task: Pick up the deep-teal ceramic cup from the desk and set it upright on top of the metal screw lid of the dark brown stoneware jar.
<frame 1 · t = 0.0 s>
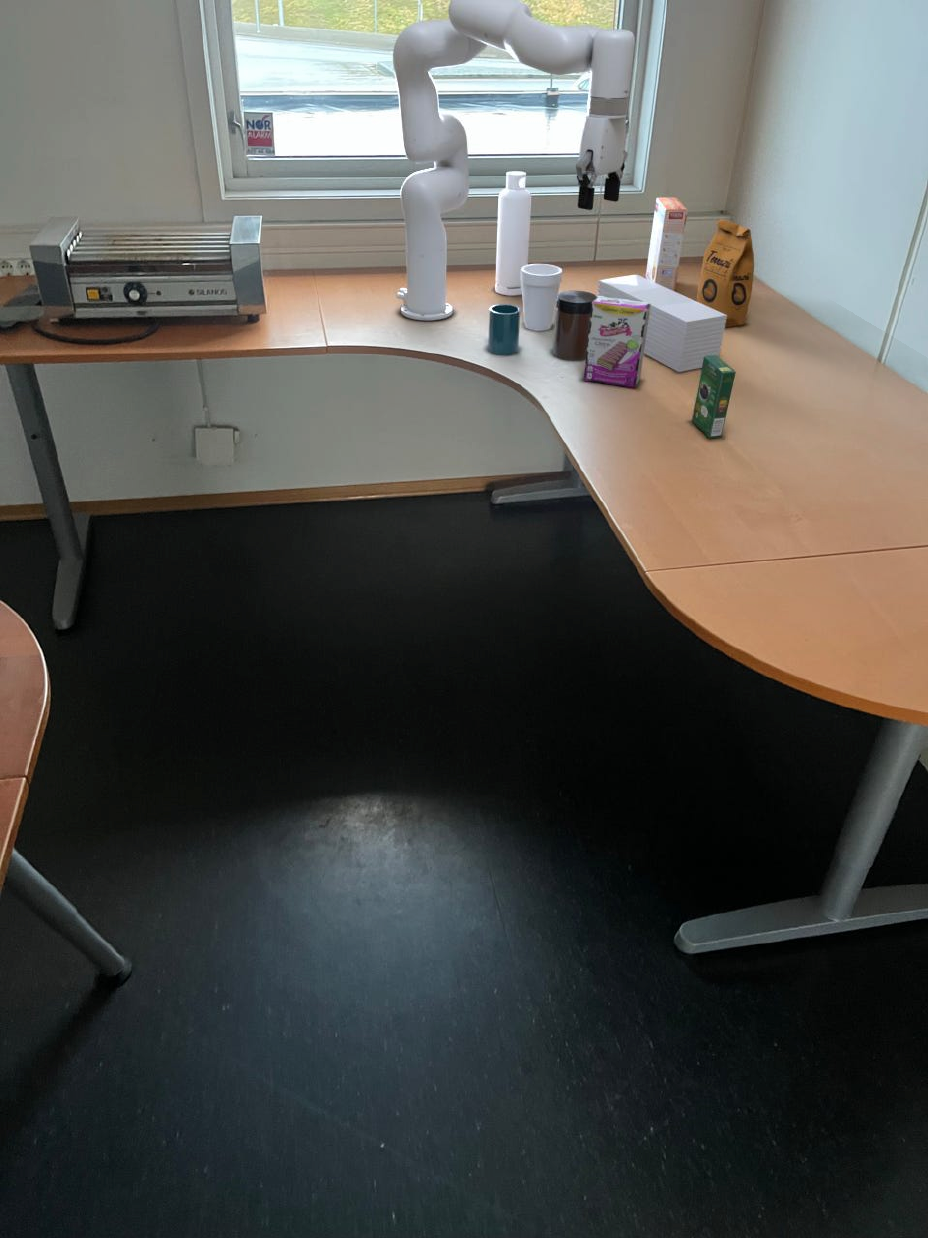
hand: (598, 204, 183), 31 cm above the table, tool pointing down, fingers open, 9 cm apart
jar: (571, 353, 203), on the table
bottle: (510, 291, 239), on the table
jar lid: (576, 299, 196), point 12 cm above the table, screwed on, not yet turned
candy bar box: (611, 382, 190), on the table
foam cup: (537, 326, 217), on the table
coffee box: (706, 431, 172), on the table
cup: (503, 349, 204), on the table
cracker box: (659, 287, 244), on the table
coffee package: (719, 320, 223), on the table
stack of papers: (653, 345, 208), on the table
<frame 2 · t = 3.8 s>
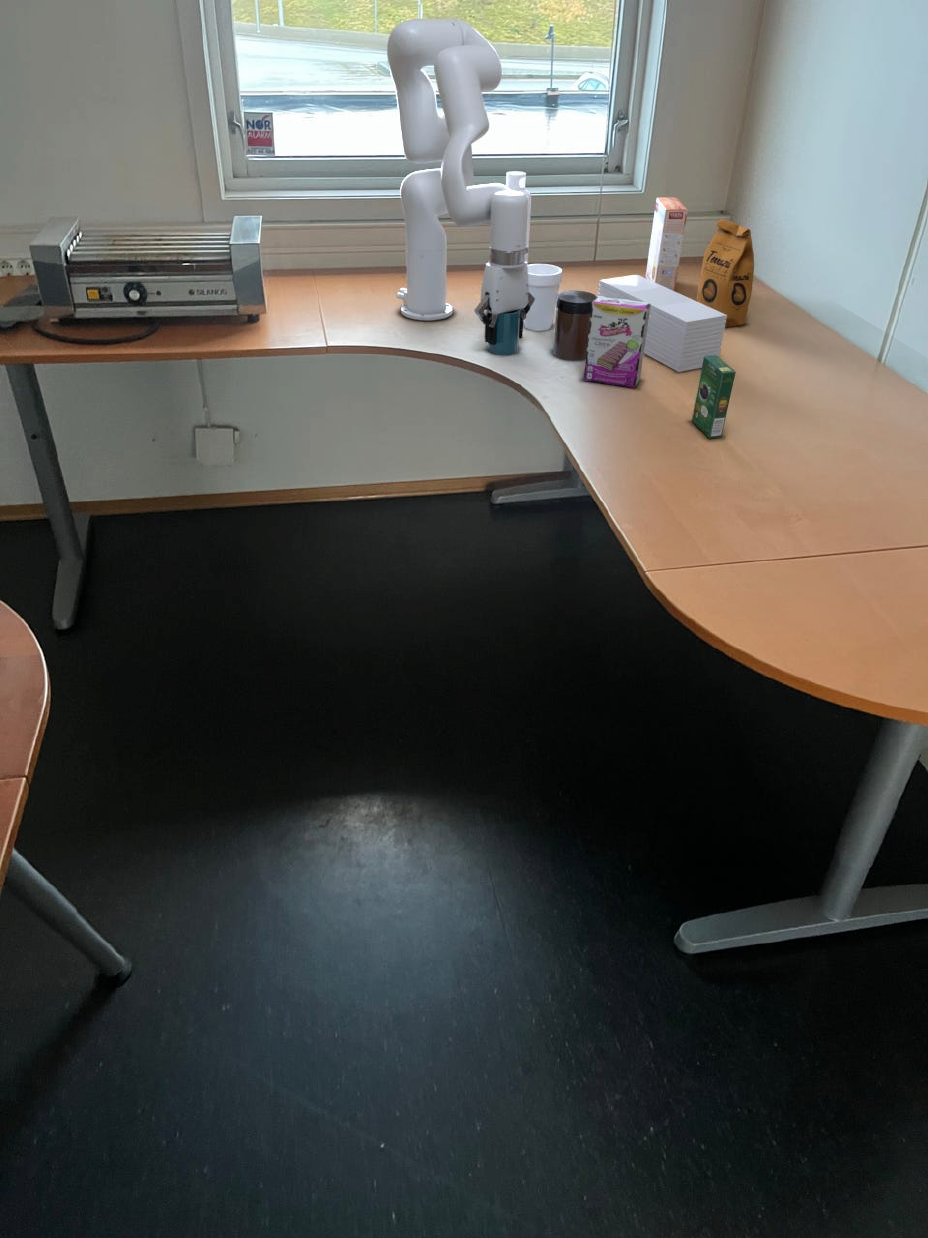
hand: (503, 339, 203), 2 cm above the table, tool pointing down, fingers closed on cup, 6 cm apart
cup: (503, 349, 204), on the table, touching gripper
everything else where it was.
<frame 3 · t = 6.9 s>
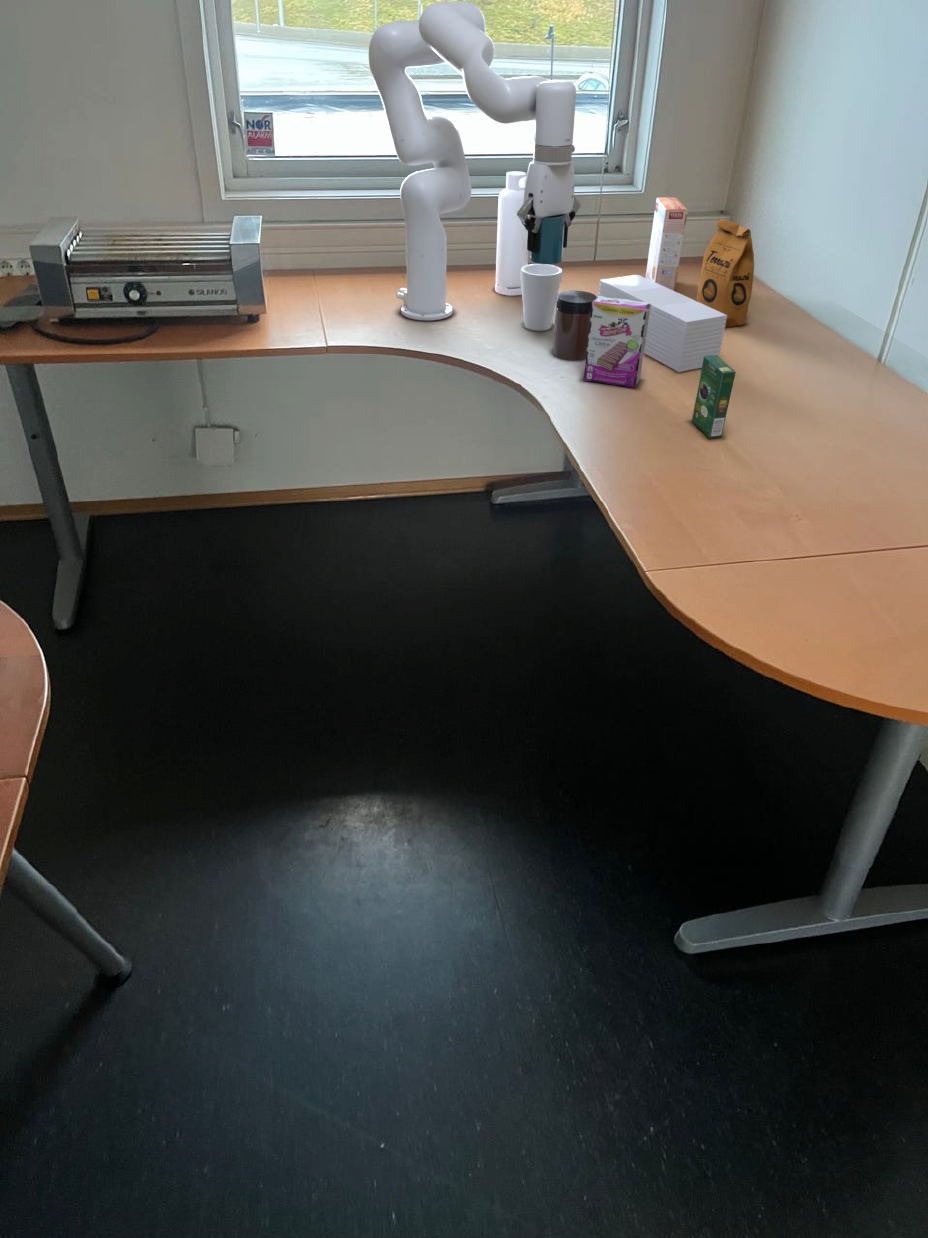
hand: (546, 248, 190), 22 cm above the table, tool pointing down, fingers closed on cup, 6 cm apart
cup: (546, 259, 191), point 20 cm above the table, touching gripper
everything else where it was.
when the fingers open (15 cm above the table, at t = 10.0 s): cup stays where it is, resting on jar lid.
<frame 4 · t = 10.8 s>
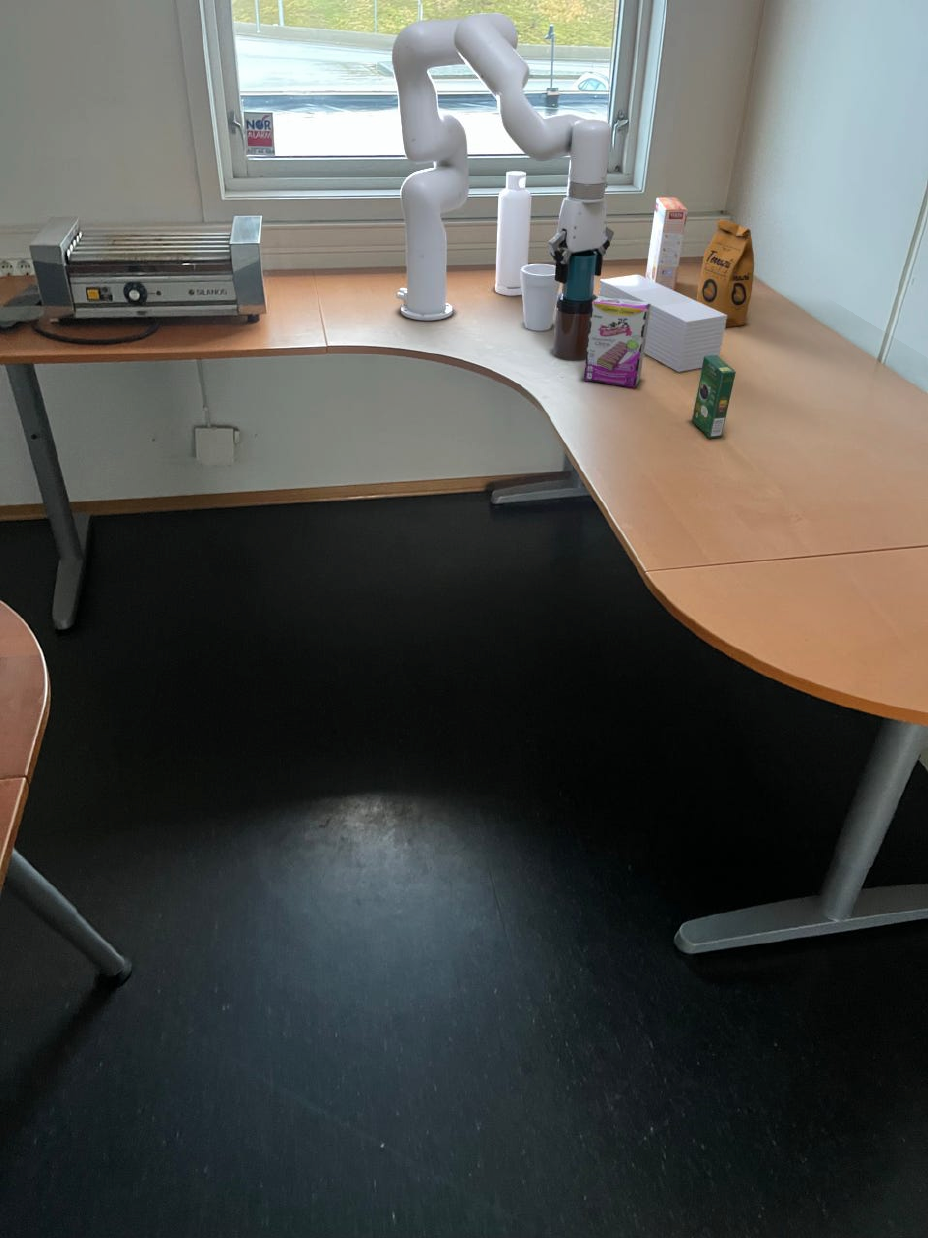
hand: (577, 278, 193), 16 cm above the table, tool pointing down, fingers open, 9 cm apart
jar lid: (576, 299, 196), point 12 cm above the table, screwed on, not yet turned, touching cup
cup: (577, 296, 195), point 12 cm above the table, touching jar lid
everything else where it was.
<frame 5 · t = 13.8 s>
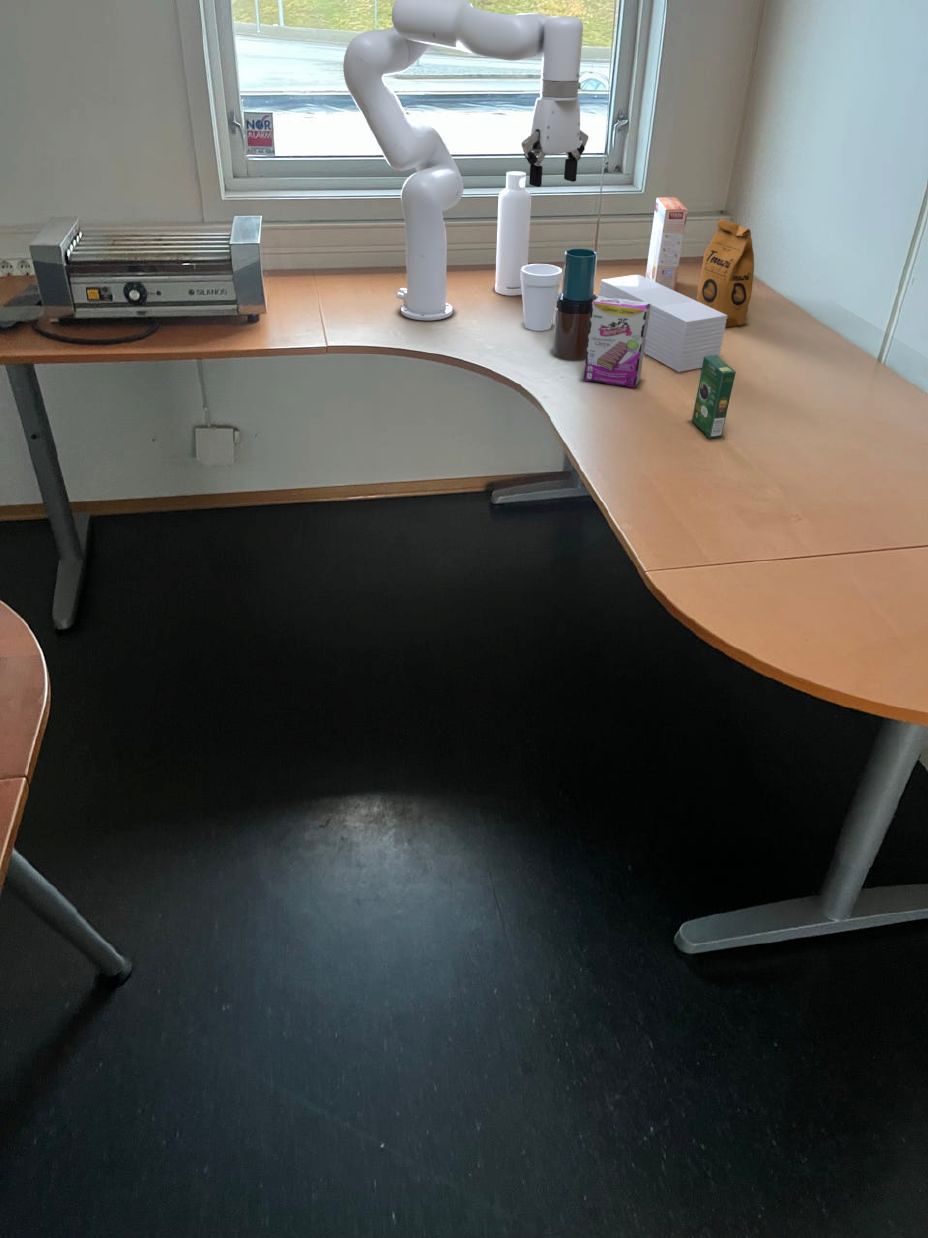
hand: (552, 182, 193), 32 cm above the table, tool pointing down, fingers open, 9 cm apart
nothing on the table moved.
at the end: cup 0.1 cm off-centre on the jar, point 12.5 cm above the jar's base; cup tilted 0°; the gripper is holding nothing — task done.
